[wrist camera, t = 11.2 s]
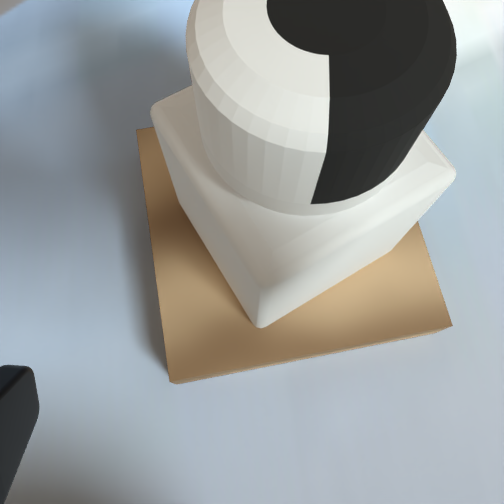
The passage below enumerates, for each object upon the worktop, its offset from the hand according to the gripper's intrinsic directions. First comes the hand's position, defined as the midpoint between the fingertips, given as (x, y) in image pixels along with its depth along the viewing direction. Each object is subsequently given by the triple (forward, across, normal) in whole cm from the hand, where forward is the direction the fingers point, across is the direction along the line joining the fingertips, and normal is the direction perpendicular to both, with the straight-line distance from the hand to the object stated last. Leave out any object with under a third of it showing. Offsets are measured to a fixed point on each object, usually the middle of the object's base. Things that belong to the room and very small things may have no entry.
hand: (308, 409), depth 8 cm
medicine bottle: (+14, 0, +3) cm, 14 cm away
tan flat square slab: (+15, 0, +4) cm, 16 cm away
